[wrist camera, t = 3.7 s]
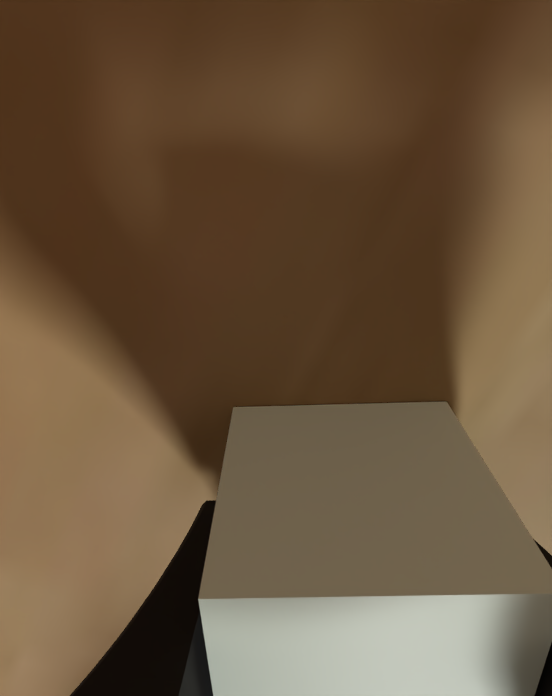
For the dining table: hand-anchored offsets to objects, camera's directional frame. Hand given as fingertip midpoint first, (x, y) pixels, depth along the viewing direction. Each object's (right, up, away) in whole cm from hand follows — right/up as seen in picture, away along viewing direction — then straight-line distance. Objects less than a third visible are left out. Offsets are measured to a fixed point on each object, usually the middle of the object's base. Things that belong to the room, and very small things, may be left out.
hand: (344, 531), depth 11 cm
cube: (0, +1, +1) cm, 1 cm away
